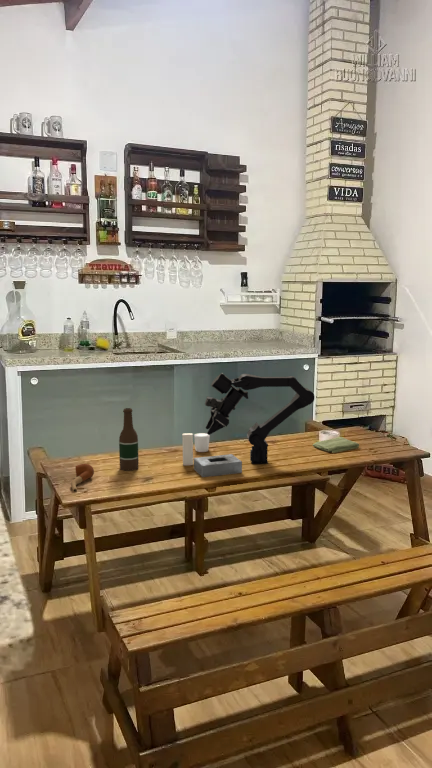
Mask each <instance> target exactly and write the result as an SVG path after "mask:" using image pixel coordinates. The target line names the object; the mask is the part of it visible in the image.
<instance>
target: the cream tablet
mask: <svg viewBox="0 0 432 768" xmlns="http://www.w3.org/2000/svg"><path fill="white" fill-rule="evenodd" d="M182 465H183V466H194V433H192V432H190V433H185V432H184V433H182Z"/></svg>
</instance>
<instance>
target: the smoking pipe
mask: <svg viewBox="0 0 432 768" xmlns="http://www.w3.org/2000/svg"><path fill="white" fill-rule="evenodd" d="M94 474H95V470H94V467H93V466H92V465H90V464H88V463H81V464H77V465H75V476H76V477H75V478H73V479H72V480H71V483H70V486H71V489H72V492H74V493H77V491H78V488H77V485H79V484H81V483H84V482H85V481H87V480H88V479H90V478H93V476H94Z"/></svg>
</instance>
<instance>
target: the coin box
mask: <svg viewBox="0 0 432 768" xmlns="http://www.w3.org/2000/svg"><path fill="white" fill-rule="evenodd" d="M193 470H194V471H195V472H196V473H197V474H198V475H200V477H201V478H205V477H207V478H208V477H217V476H225V475H235V474H242V473H243V461H242V460H241V459H239V458H238V457H237V456H235V455H234V454H232V453H230V454H219V455H213V456H212V455H211V456H210V455H209V456H201V457H193Z"/></svg>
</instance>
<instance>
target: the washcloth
mask: <svg viewBox="0 0 432 768" xmlns="http://www.w3.org/2000/svg"><path fill="white" fill-rule="evenodd" d="M312 447H314V448H316V449H319V450H322V451H325V452H326V451H327V452H328V453H331V454H335V453H340V452H344V451H345V452H346V451H350V450H354V449H358V448H360V443H358V442H356V441H352V440H349V439H347V438H345V437H342V436H339V437H335V438H329V439H325V440H320V441H316V442H315V443H313V444H312Z"/></svg>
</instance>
